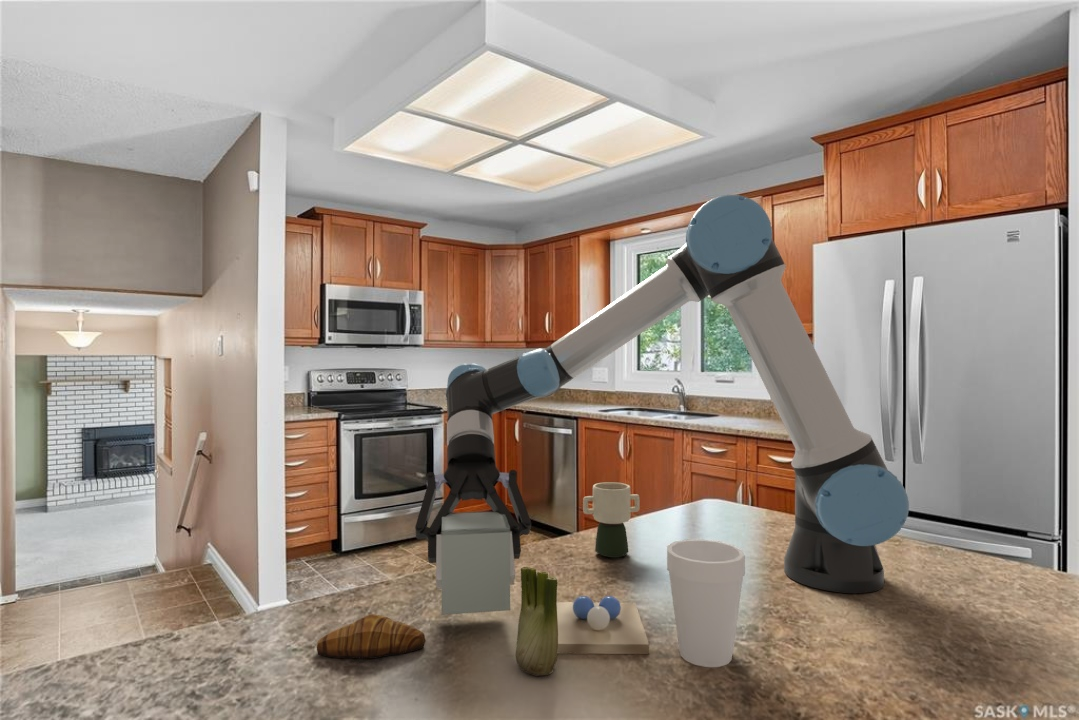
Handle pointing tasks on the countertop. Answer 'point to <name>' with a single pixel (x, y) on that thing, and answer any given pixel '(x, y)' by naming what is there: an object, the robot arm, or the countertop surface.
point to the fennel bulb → (537, 623)
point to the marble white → (598, 618)
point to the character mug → (611, 516)
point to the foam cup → (706, 598)
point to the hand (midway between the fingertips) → (475, 582)
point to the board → (601, 632)
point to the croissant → (371, 639)
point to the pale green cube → (475, 562)
